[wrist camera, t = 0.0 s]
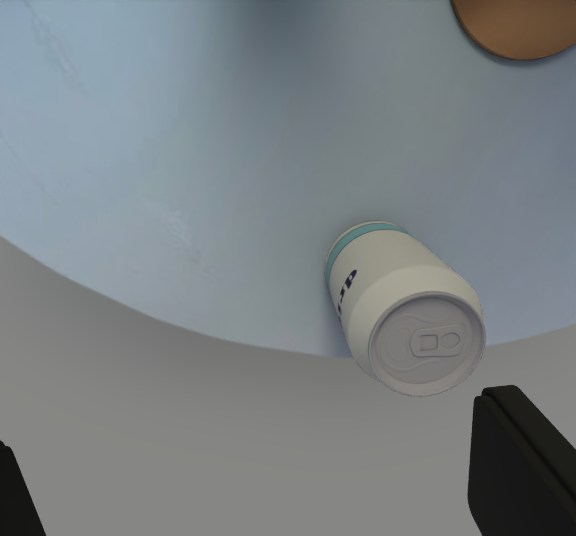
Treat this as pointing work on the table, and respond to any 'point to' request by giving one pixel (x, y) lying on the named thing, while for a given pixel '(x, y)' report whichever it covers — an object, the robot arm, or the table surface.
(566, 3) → the coaster
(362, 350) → the beverage can
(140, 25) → the table surface
